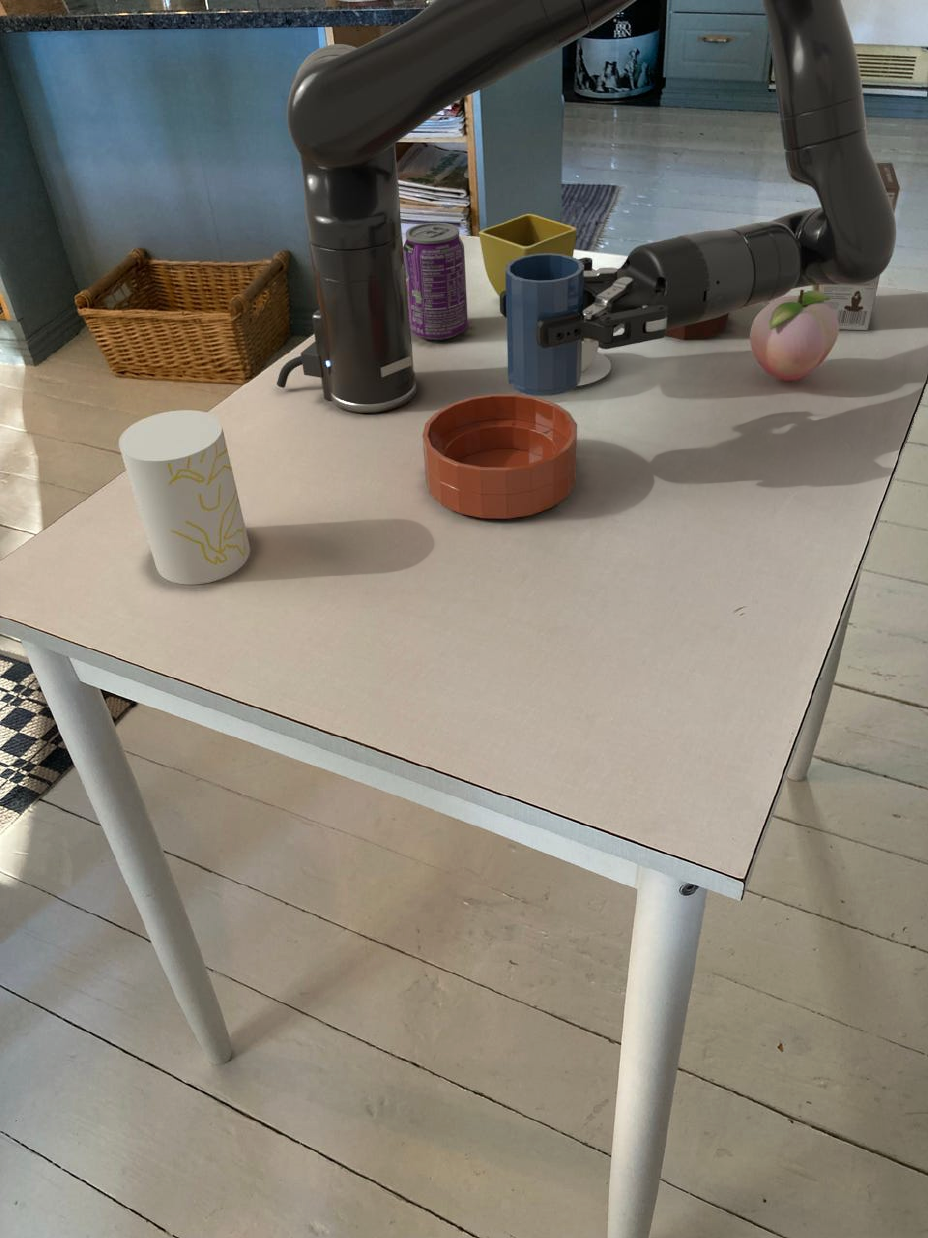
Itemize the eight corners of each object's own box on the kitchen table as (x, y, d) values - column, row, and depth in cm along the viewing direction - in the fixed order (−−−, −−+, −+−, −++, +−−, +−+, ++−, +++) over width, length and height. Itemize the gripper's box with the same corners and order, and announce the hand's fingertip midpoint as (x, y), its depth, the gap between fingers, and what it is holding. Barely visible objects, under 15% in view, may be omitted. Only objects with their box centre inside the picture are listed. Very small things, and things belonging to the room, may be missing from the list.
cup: (205, 595, 83) (171, 470, 75) (136, 567, 86) (96, 445, 78) (269, 544, 88) (243, 423, 80) (201, 520, 91) (170, 402, 84)
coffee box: (808, 298, 123) (832, 160, 113) (862, 300, 122) (892, 161, 112) (812, 329, 116) (839, 185, 106) (870, 331, 115) (903, 186, 105)
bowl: (402, 506, 92) (396, 454, 88) (463, 434, 101) (460, 384, 98) (545, 536, 87) (545, 482, 83) (595, 457, 96) (597, 406, 93)
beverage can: (433, 315, 125) (426, 217, 117) (479, 327, 121) (475, 226, 114) (398, 336, 120) (388, 235, 113) (444, 348, 117) (438, 246, 109)
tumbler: (497, 389, 87) (493, 277, 81) (524, 359, 92) (522, 249, 85) (566, 400, 85) (567, 285, 78) (590, 368, 89) (593, 257, 83)
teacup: (604, 348, 115) (605, 308, 112) (616, 387, 107) (619, 346, 104) (517, 353, 115) (517, 314, 112) (524, 393, 107) (523, 352, 104)
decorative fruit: (770, 354, 112) (784, 266, 105) (839, 373, 107) (858, 282, 101) (727, 386, 106) (739, 294, 100) (798, 407, 102) (815, 313, 96)
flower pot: (527, 321, 122) (526, 247, 116) (479, 302, 127) (476, 230, 122) (577, 299, 126) (578, 227, 120) (529, 282, 131) (528, 212, 126)
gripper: (647, 214, 91) (481, 249, 86) (742, 263, 81) (560, 306, 76) (642, 294, 96) (485, 331, 91) (730, 350, 86) (559, 395, 81)
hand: (520, 319), depth 84 cm, fingers closed on tumbler, 6 cm apart
